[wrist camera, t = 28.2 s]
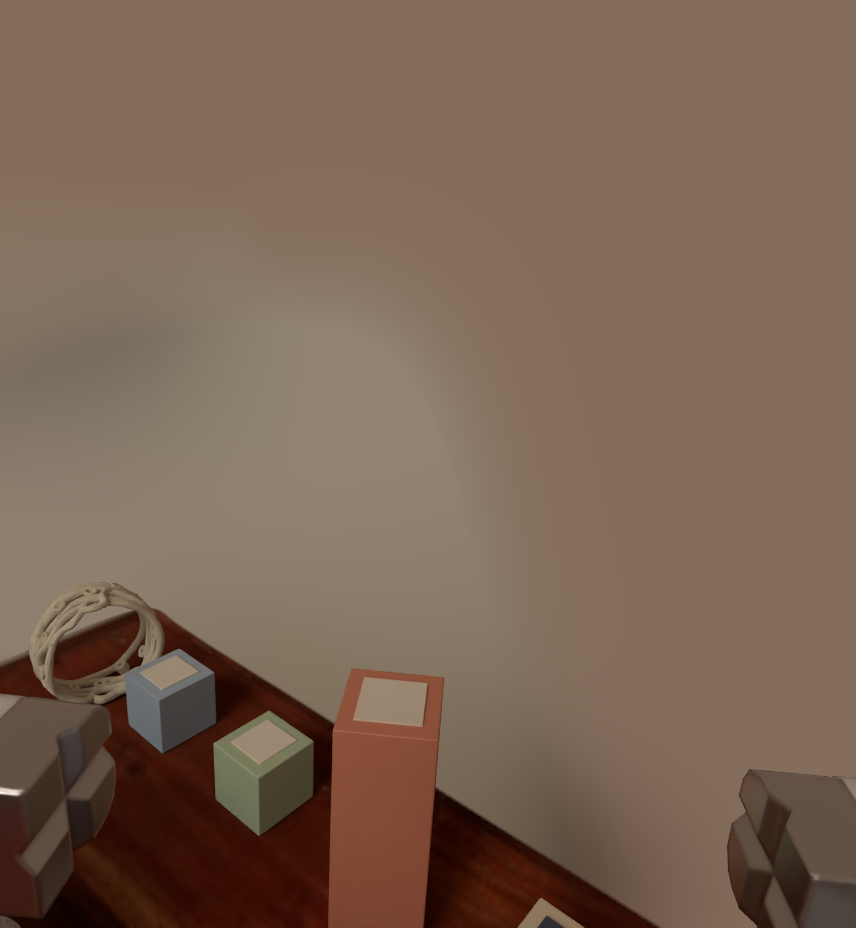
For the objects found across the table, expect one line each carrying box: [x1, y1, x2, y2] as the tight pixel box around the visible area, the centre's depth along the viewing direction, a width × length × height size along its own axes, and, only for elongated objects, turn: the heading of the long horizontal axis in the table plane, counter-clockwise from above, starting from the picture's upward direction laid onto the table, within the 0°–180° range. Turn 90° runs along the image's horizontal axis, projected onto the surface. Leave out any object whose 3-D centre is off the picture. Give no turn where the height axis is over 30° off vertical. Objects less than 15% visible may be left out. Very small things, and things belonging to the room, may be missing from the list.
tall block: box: [328, 669, 444, 928], centre depth 34 cm, size 4×4×12 cm
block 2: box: [214, 711, 314, 836], centre depth 41 cm, size 4×4×4 cm
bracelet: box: [29, 582, 165, 704], centre depth 49 cm, size 4×8×8 cm, turn 134°
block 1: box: [125, 649, 216, 754], centre depth 47 cm, size 4×4×4 cm
